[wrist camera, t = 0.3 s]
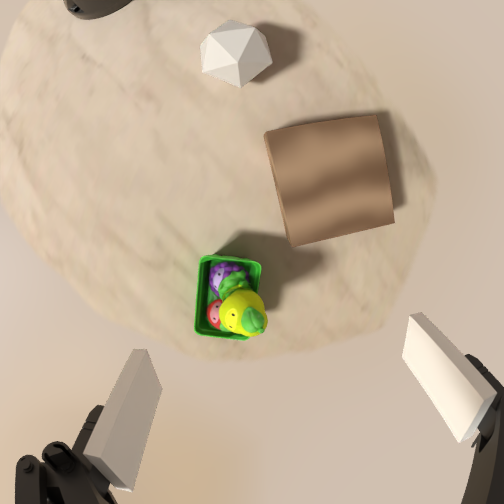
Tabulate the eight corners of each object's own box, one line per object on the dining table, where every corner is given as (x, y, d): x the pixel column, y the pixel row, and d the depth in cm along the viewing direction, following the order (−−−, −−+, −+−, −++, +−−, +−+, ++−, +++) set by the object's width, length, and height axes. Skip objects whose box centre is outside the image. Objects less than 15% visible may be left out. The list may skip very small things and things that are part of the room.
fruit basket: (204, 243, 39) (189, 273, 28) (269, 251, 40) (278, 284, 29) (198, 316, 42) (185, 362, 32) (257, 323, 43) (260, 371, 32)
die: (266, 36, 31) (223, -2, 23) (296, 69, 29) (252, 26, 21) (223, 71, 35) (175, 42, 27) (246, 108, 33) (193, 77, 25)
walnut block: (263, 135, 35) (265, 131, 31) (361, 119, 35) (376, 114, 30) (286, 237, 40) (292, 247, 35) (378, 215, 39) (394, 223, 34)
